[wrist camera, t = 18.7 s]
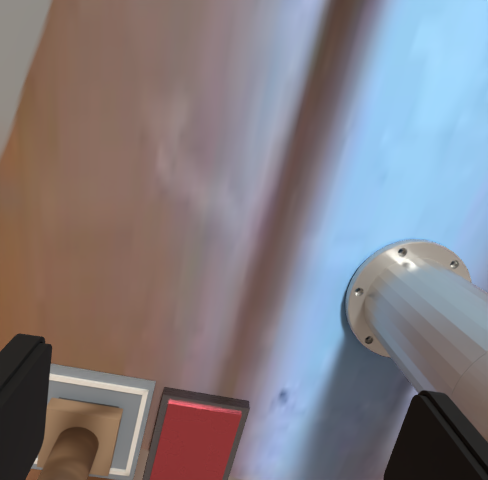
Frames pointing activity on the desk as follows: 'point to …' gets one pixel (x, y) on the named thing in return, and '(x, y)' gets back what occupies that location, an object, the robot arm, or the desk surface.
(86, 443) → the stamp
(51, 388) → the board
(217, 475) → the ink pad
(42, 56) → the desk surface
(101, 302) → the desk surface
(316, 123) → the desk surface
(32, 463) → the robot arm
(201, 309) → the desk surface
